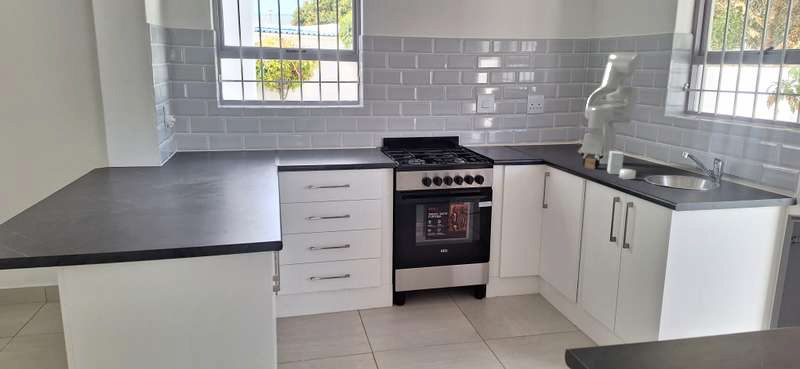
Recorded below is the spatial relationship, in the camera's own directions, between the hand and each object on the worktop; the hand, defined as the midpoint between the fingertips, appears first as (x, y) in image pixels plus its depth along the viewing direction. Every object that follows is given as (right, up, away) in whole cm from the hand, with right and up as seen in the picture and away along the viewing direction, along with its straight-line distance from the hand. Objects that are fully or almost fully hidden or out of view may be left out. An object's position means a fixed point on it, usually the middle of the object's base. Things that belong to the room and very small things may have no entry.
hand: (590, 166), depth 290 cm
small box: (+8, -4, -12) cm, 14 cm away
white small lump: (+9, -6, -23) cm, 26 cm away
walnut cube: (0, -1, 0) cm, 1 cm away
